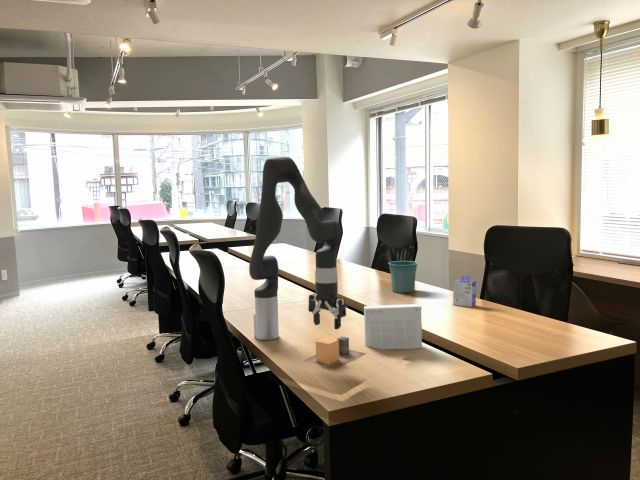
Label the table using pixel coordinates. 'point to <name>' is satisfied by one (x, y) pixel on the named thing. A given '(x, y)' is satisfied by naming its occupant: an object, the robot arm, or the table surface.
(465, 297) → the ink cartridge box
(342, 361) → the post board
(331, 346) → the peach wooden cube
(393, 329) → the skincare box
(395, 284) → the flower pot
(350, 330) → the table surface
